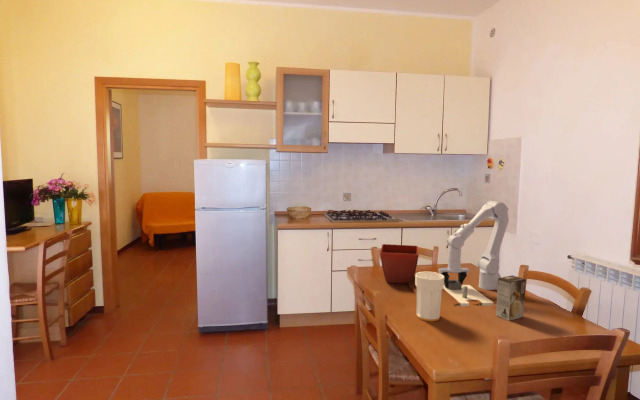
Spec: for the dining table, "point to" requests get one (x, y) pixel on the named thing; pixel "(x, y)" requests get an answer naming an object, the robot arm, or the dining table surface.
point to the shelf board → (468, 296)
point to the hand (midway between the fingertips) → (453, 287)
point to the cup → (429, 295)
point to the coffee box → (510, 297)
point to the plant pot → (399, 262)
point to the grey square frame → (454, 285)
